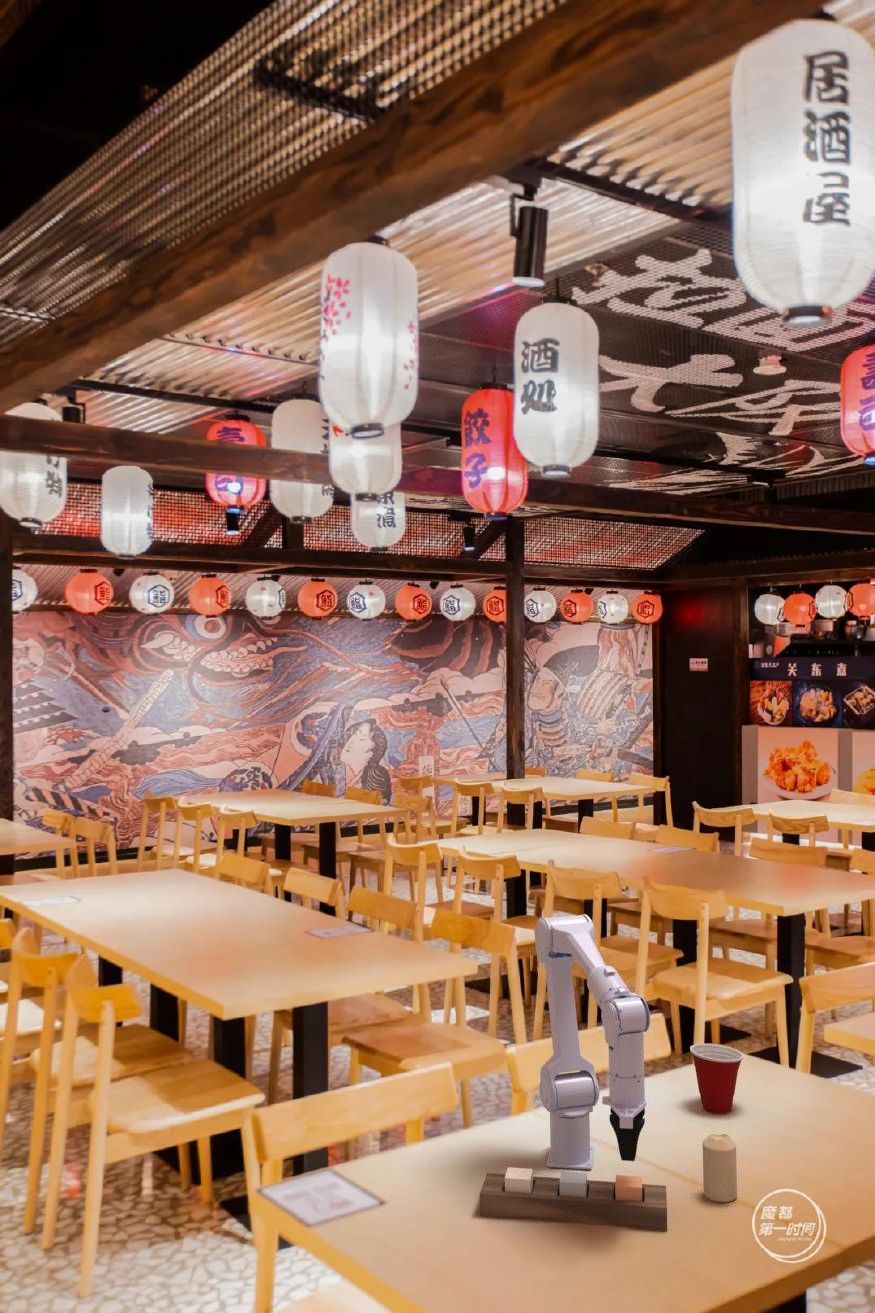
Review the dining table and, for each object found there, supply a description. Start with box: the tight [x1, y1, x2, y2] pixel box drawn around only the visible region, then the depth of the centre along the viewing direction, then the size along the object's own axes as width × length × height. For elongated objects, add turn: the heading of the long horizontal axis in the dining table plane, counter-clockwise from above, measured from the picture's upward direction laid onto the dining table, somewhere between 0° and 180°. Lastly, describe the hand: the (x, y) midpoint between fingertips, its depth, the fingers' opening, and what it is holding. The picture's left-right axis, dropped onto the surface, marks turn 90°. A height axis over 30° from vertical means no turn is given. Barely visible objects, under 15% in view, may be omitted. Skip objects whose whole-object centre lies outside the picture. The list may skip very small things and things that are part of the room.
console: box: [479, 1172, 668, 1231], centre depth 179 cm, size 8×30×4 cm, turn 79°
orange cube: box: [615, 1174, 643, 1202], centre depth 177 cm, size 4×4×4 cm
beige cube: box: [505, 1166, 534, 1193], centre depth 180 cm, size 4×4×4 cm
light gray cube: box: [559, 1170, 588, 1198], centre depth 179 cm, size 4×4×4 cm
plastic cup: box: [689, 1042, 745, 1115], centre depth 223 cm, size 11×11×12 cm
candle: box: [702, 1133, 738, 1203], centre depth 184 cm, size 6×6×10 cm
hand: (628, 1157), depth 177 cm, fingers closed
